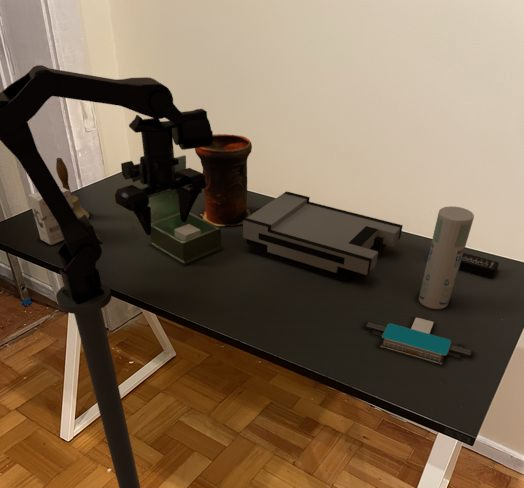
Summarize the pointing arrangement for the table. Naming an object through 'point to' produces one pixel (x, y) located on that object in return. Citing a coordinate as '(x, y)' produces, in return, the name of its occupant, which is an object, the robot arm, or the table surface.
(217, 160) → the vessel
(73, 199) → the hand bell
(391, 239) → the game console
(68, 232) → the robot arm
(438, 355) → the teal block with rod
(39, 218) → the ink box
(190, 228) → the white block
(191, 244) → the storage tray
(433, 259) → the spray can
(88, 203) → the table surface
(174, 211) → the box lid
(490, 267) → the multiport hub
